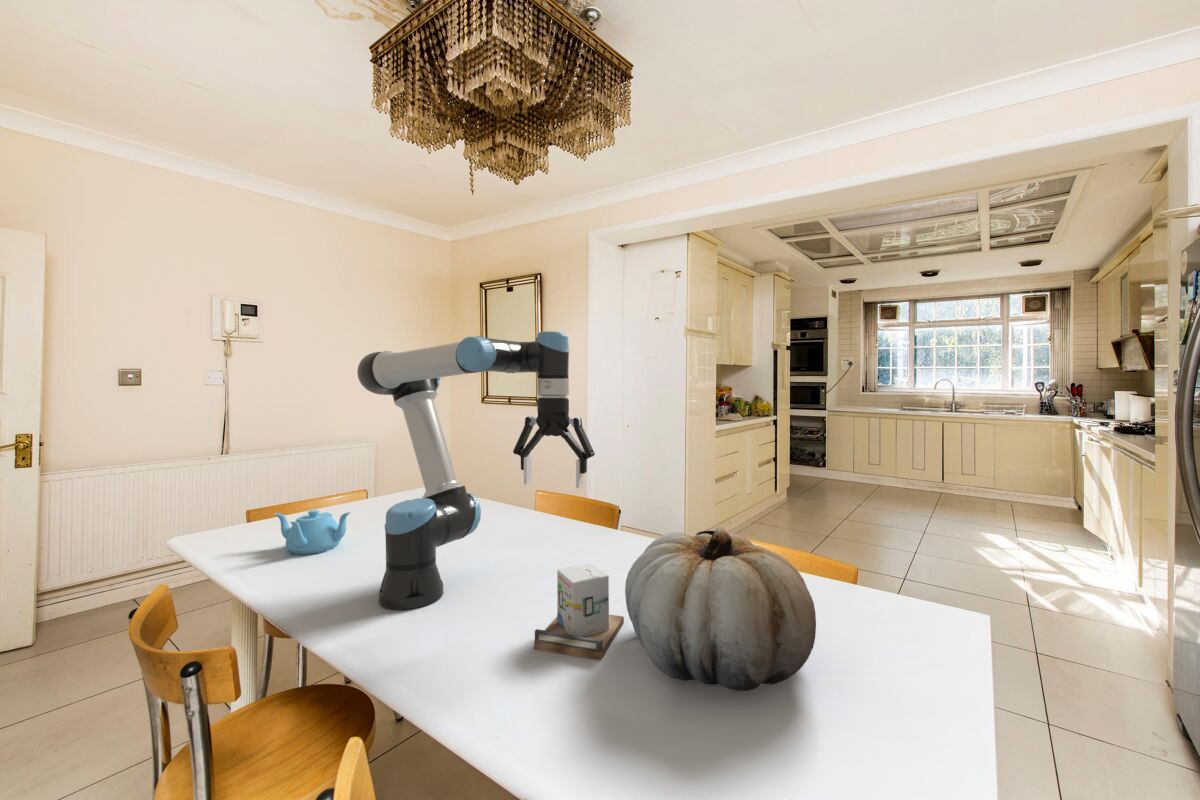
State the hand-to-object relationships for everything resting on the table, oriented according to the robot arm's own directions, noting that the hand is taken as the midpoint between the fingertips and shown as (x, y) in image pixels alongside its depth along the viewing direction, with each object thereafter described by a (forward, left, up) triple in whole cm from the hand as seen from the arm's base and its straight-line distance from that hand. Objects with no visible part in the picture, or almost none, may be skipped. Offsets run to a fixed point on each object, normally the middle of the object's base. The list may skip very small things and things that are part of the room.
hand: (553, 485), depth 121 cm
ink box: (+12, -12, -27) cm, 32 cm away
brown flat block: (+12, -13, -29) cm, 33 cm away
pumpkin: (+39, -12, -29) cm, 50 cm away
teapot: (-91, +13, -29) cm, 96 cm away
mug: (+35, +37, -29) cm, 59 cm away
